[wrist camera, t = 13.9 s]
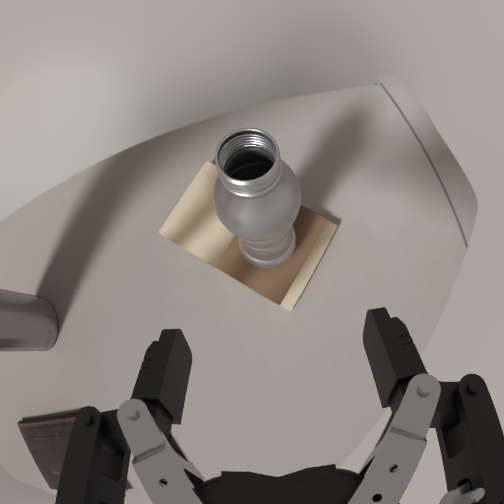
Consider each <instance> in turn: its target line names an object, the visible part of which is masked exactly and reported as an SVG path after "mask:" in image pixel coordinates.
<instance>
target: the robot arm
mask: <svg viewBox="0 0 504 504" xmlns="http://www.w3.org/2000/svg"><path fill="white" fill-rule="evenodd" d="M57 332H58V324H57V317H56V313H55V311H54V308H53V306H52V305H51V304H50V302H49V301H47V300H46V299H43V298H38V297H37V296H35V295H29V294H24V293H19V292H13V291H8V290H3V289H0V351H45V350H49V349H50V348H52V346H53V345H54V343H55V341H56V338H57ZM363 344H364V348H365V351H366V354H367V357H368V360H369V364H370V367H371V370H372V373H373V377H374V380H375V383H376V387H377V390H378V394H379V397H380V401H381V405H382V408H386V407H389V406H390V407H391V411H392V414H391V416H390V418H389V420H388V422H387V424H386V426H385V428H384V430H383V432H382V434H381V436H380V438H379V440H378V442H377V444H376V446H375V447H374V449H373V451H372V452H371V454H370V456H369V457H368V459H367V460H366V462H365V463H364V465H363V467H362V468H361V470H360V472H359V473H355V472H353V471H349V470H345V469H337V468H336V466H335V464H332V465H326V466H319V467H312V468H306V469H303V470H300V471H297V472H294V473H291V474H287V475H284V476H280V477H274V476H268V475H263V474H258V473H253V472H230V471H222V473H221V476H219V477H215V478H212V479H210V480H207V481H206V480H205V478H204V477H203V476H202V474H201V473H200V472H199V471H198V470H197V469H196V467H195V466H194V465H193V464H192V463H191V461H190V460H189V459H188V457H187V456H186V454H185V453H184V451H183V449H182V448H181V446H180V445H179V443H178V442H177V440H176V438H175V437H174V435H173V433H172V432H171V427H172V424H180V425H181V419H182V413H183V407H184V402H185V396H186V391H187V386H188V380H189V375H190V370H191V365H192V353H191V350H190V348H189V346H188V343H187V341H186V339H185V337H184V335H183V333H182V331H181V329H164V330H162V332H161V335H160V338H159V341H153V342H152V344H151V345H150V346H149V347H148V349H147V350H146V353H145V356H144V359H143V360H144V361H143V362H142V365H141V369H140V371H139V374H138V378H137V381H136V384H135V387H134V390H133V394H132V396H131V399H130V400H127V401H125V402H124V403H122V404H121V406H120V407H119V409H117V410H111V411H105V412H100V411H99V410H97V409H96V408H95V407H92V406H87V407H84V408H82V409H81V410H80V411H79V412H78V413H77V415H76V418H75V421H74V424H73V428H72V431H71V435H70V439H69V442H68V446H67V450H66V454H65V458H64V462H63V467H62V471H61V476H60V481H59V486H58V491H57V497H56V503H55V504H124V497H125V489H126V481H127V474H128V467H129V461H130V454H131V452H132V454H133V456H134V460H132V464H133V467H134V469H135V471H136V473H137V475H138V477H139V479H140V481H141V483H142V485H143V487H144V488H145V490H146V492H147V494H148V496H149V497H150V499H151V501H152V502H153V504H399V501H400V499H401V497H402V495H403V494H404V492H405V490H406V488H407V486H408V484H409V482H410V480H411V478H412V476H413V474H414V472H415V470H416V468H417V466H418V463H419V461H420V459H421V457H422V454H423V452H424V449H425V447H426V443H427V440H426V434H427V432H428V429H429V428H435V429H436V432H437V437H438V441H439V446H440V450H441V455H442V460H443V465H444V471H445V477H446V483H447V490H448V492H447V493H446V494H445V495H444V496H443V498H442V499H441V501H440V503H439V504H504V435H503V431H502V428H501V425H500V422H499V419H498V416H497V413H496V410H495V407H494V404H493V401H492V399H491V396H490V393H489V392H488V389H487V386H486V383H485V381H484V380H483V379H482V378H481V377H480V376H479V375H476V374H468V375H466V376H464V377H463V378H462V379H461V381H460V382H440V381H438V380H437V379H436V378H435V377H434V376H432V375H429V374H428V373H427V371H426V369H425V367H424V364H423V362H422V360H421V358H420V355H419V353H418V351H417V349H416V346H415V344H413V340H412V338H411V336H410V334H409V331H408V329H407V327H406V325H405V324H404V323H403V322H402V321H401V320H400V319H399V318H397V317H394V318H390V316H389V314H388V311H387V310H386V308H385V307H382V308H376V309H371V310H368V311H367V314H366V320H365V325H364V331H363Z"/></svg>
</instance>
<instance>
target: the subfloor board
mask: <svg viewBox="0 0 504 504" xmlns="http://www.w3.org/2000/svg"><path fill="white" fill-rule="evenodd" d="M218 175H219V174H218V170H217V167H216V165H214V164H212V163H210V162H208V161H207V162H206V163H205V165H204V166H203V167H202V169H201V170H200V171H199V173H198V174H197V176H196V177H195V179H194V180H193V181H192V183H191V184H190V186H189V187H188V189H187V190H186V191H185V193H184V194H183V196H182V197H181V199H180V200H179V202H178V203H177V205H176V206H175V208H174V209H173V211H172V212H171V214H170V215H169V217H168V218H167V220H166V222H165V223H164V225H163V226H162V228H161V229H160V231H159V233H161V234H162V235H164V236H165V237H167V238H168V239H170V240H172V241H173V242H175V243H176V244H178V245H180V246H181V247H183V248H184V249H186V250H188V251H189V252H191V253H192V254H194V255H196V256H197V257H199V258H201V259H202V260H204V261H205V262H207V263H209V264H210V265H212V266H214V267H215V268H217V269H219V270H220V271H222V272H224V273H225V274H227V275H229V276H230V277H232V278H234V279H235V280H237V281H239V282H240V283H242V284H244V285H245V286H247V287H249V288H250V289H252V290H254V291H255V292H257V293H259V294H261V295H262V296H264V297H266V298H267V299H269V300H271V301H273V302H274V303H276V304H278V305H280V306H281V307H283V308H285V309H286V310H288V311H290V312H291V310H292V309H293V307H294V305H295V304H296V302H297V300H298V298H299V297H300V295H301V293H302V291H303V290H304V288H305V286H306V284H307V282H308V281H309V279H310V277H311V275H312V274H313V272H314V270H315V268H316V266H317V264H318V263H319V261H320V259H321V257H322V255H323V253H324V251H325V250H326V248H327V246H328V244H329V242H330V240H331V238H332V236H333V234H334V232H335V230H336V229H337V227H338V226H337V225H335V224H333V223H332V222H330V221H328V220H327V219H325V218H324V217H322V216H320V215H318V214H316V213H314V212H312V211H310V210H308V209H307V208H305V207H303V206H301V205H300V209H299V212H298V215H297V217H296V219H295V221H294V223H293V224H292V225H293V228H294V230H295V234H296V246H295V250H294V252H293V254H292V256H291V257H290V258H289V260H288V261H286V262H285V263H284V264H282V265H281V266H279V267H276V268H271V269H264V268H259V267H256V266H254V265H252V264H251V263H250V262H248V261H247V260H246V259H245V257H244V256H243V254H242V252H241V250H240V247H239V241H238V237H237V236H235V235H234V234H233V233H231V232H230V231H229V230H228V229H227V228H226V227H225V226H224V225H223V224H222V223H221V221H220V220H219V218H218V216H217V214H216V212H215V208H214V203H213V192H214V185H215V182H216V179H217V176H218Z"/></svg>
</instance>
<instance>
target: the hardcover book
mask: <svg viewBox="0 0 504 504" xmlns="http://www.w3.org/2000/svg"><path fill="white" fill-rule="evenodd" d="M76 415H77V413H73V414H67V415H61V416H55V417H48V418H41V419H33V420H24V421H19V422H18V427H19V429H20V431H21V433H22V436H23V438H24V440H25V442H26V444H27V447H28V449H29V451H30V453H31V455H32V457H33V459H34V460H35V462H36V464H37V466H38V468H39V470H40V472H41V473H42V475H43V477H44V478H45V480H46V482H47V483H48V485H49V487H50V488H51V489H56V490H58V486H59V481H60V476H61V471H62V467H63V462H64V458H65V454H66V450H67V446H68V442H69V439H70V435H71V431H72V428H73V424H74V421H75V418H76ZM126 491H127V489H125V492H126ZM125 496H126V495H125Z"/></svg>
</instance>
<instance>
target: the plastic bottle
mask: <svg viewBox="0 0 504 504" xmlns="http://www.w3.org/2000/svg"><path fill="white" fill-rule="evenodd" d="M215 164H216V167H217V170H218V174H219V175H218V176H217V179H216V182H215V185H214V192H213V203H214V208H215V212H216V214H217V216H218V218H219V220H220V221H221V223H222V224H223V225H224V226H225V227H226V228H227V229H228V230H229V231H230V232H231V233H233V234H234V235H235V236H237V237H238V241H239V247H240V250H241V252H242V254H243V256H244V257H245V259H246V260H247V261H248V262H250V263H251V264H252V265H254V266H256V267H259V268H264V269H271V268H276V267H279V266H281V265H282V264H284V263H285V262H286V261H288V260H289V258H290V257H291V256H292V254H293V252H294V250H295V246H296V234H295V230H294V228H293V225H292V224H293V223H294V221H295V219H296V217H297V215H298V212H299V209H300V204H301V189H300V184H299V182H298V180H297V178H296V176H295V174H294V173H293V171H292V170H291V168H290V167H289V166H288V165H287V164H286V163H285V162H284V161H282V160H281V158H280V152H279V148H278V145H277V143H276V141H275V140H274V139H273V137H272V136H270V135H269V134H268V133H266V132H264V131H262V130H259V129H255V128H243V129H239V130H236V131H233V132H231V133H229V134H228V135H227V136H225V137H224V138H223V139H222V140H221V142H220V143H219V145H218V147H217V149H216V153H215Z"/></svg>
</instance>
